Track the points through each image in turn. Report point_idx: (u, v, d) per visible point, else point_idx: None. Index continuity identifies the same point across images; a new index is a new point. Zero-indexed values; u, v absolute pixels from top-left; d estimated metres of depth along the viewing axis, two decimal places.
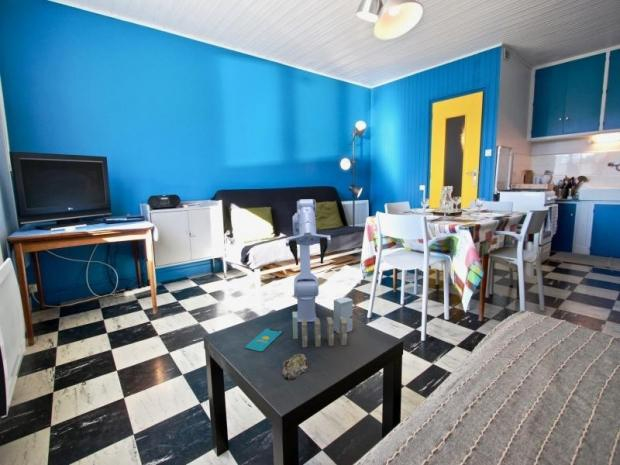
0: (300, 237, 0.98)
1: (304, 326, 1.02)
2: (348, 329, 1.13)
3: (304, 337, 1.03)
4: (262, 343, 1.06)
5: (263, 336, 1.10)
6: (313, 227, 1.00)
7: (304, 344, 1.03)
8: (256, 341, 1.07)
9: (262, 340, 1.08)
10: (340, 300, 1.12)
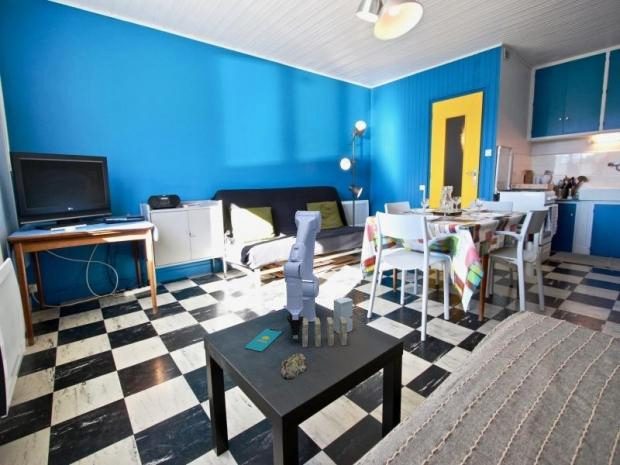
0: None
1: (305, 326, 1.02)
2: (348, 329, 1.13)
3: (305, 337, 1.03)
4: (262, 343, 1.06)
5: (263, 336, 1.10)
6: (289, 300, 1.07)
7: (304, 344, 1.03)
8: (256, 341, 1.07)
9: (262, 340, 1.08)
10: (340, 300, 1.12)
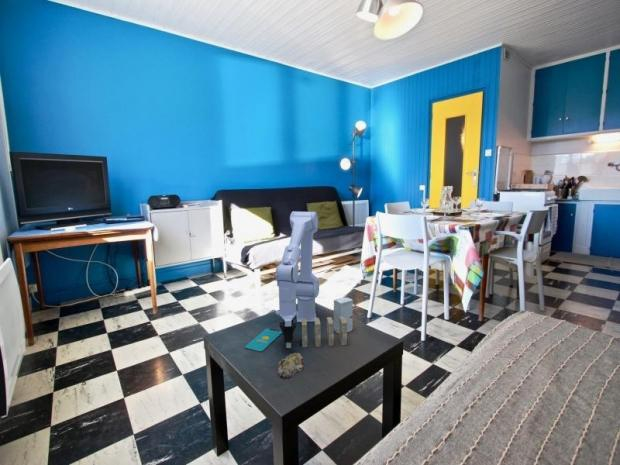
0: None
1: (304, 326, 1.02)
2: (348, 329, 1.13)
3: (304, 337, 1.03)
4: (262, 343, 1.06)
5: (263, 336, 1.10)
6: (281, 306, 1.01)
7: (304, 344, 1.03)
8: (256, 341, 1.07)
9: (262, 340, 1.08)
10: (340, 300, 1.12)
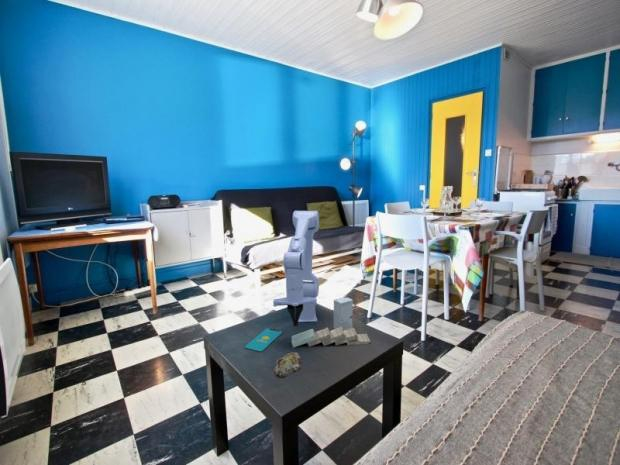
0: None
1: (328, 336, 1.04)
2: None
3: (318, 340, 1.04)
4: (262, 343, 1.06)
5: (263, 336, 1.10)
6: (301, 293, 1.01)
7: (310, 343, 1.03)
8: (256, 341, 1.07)
9: (262, 340, 1.08)
10: (340, 300, 1.12)
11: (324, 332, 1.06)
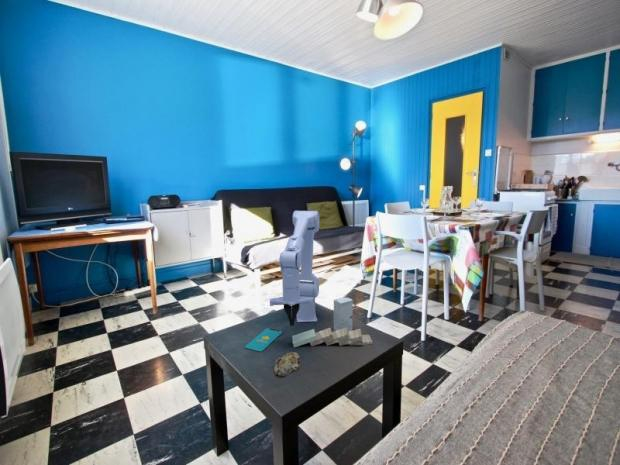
0: None
1: (331, 336, 1.04)
2: (348, 329, 1.13)
3: (320, 340, 1.04)
4: (262, 343, 1.06)
5: (263, 336, 1.10)
6: (297, 292, 1.01)
7: (313, 343, 1.04)
8: (256, 341, 1.07)
9: (262, 340, 1.08)
10: (340, 300, 1.12)
11: (326, 332, 1.06)
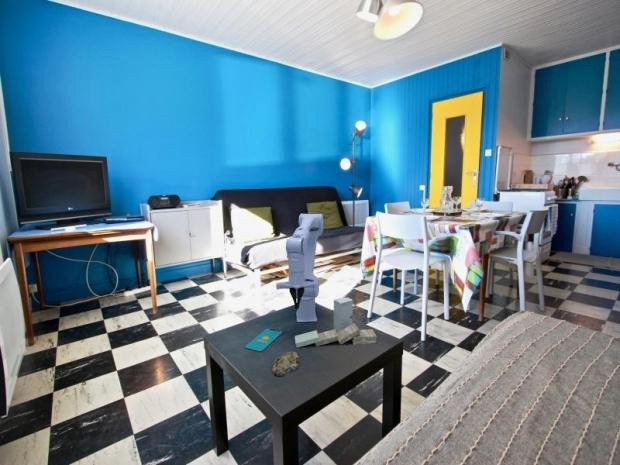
0: None
1: (336, 338, 1.04)
2: None
3: (325, 341, 1.04)
4: (262, 343, 1.06)
5: (263, 336, 1.10)
6: (302, 276, 1.07)
7: (318, 343, 1.04)
8: (256, 341, 1.07)
9: (262, 340, 1.08)
10: (340, 300, 1.12)
11: (332, 333, 1.07)
